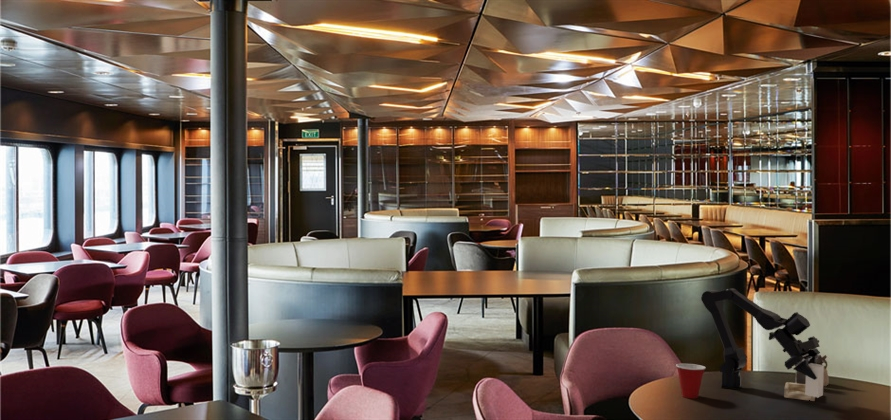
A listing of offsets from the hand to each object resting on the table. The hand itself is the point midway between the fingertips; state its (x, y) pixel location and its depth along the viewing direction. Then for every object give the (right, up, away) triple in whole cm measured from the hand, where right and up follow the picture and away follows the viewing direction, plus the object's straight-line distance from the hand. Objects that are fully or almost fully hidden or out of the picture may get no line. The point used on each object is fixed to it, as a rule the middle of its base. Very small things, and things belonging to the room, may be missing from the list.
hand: (818, 377), depth 278 cm
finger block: (-1, -7, +1) cm, 7 cm away
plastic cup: (-43, -10, +12) cm, 46 cm away
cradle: (+2, -10, +19) cm, 21 cm away
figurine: (+15, -9, +30) cm, 35 cm away
